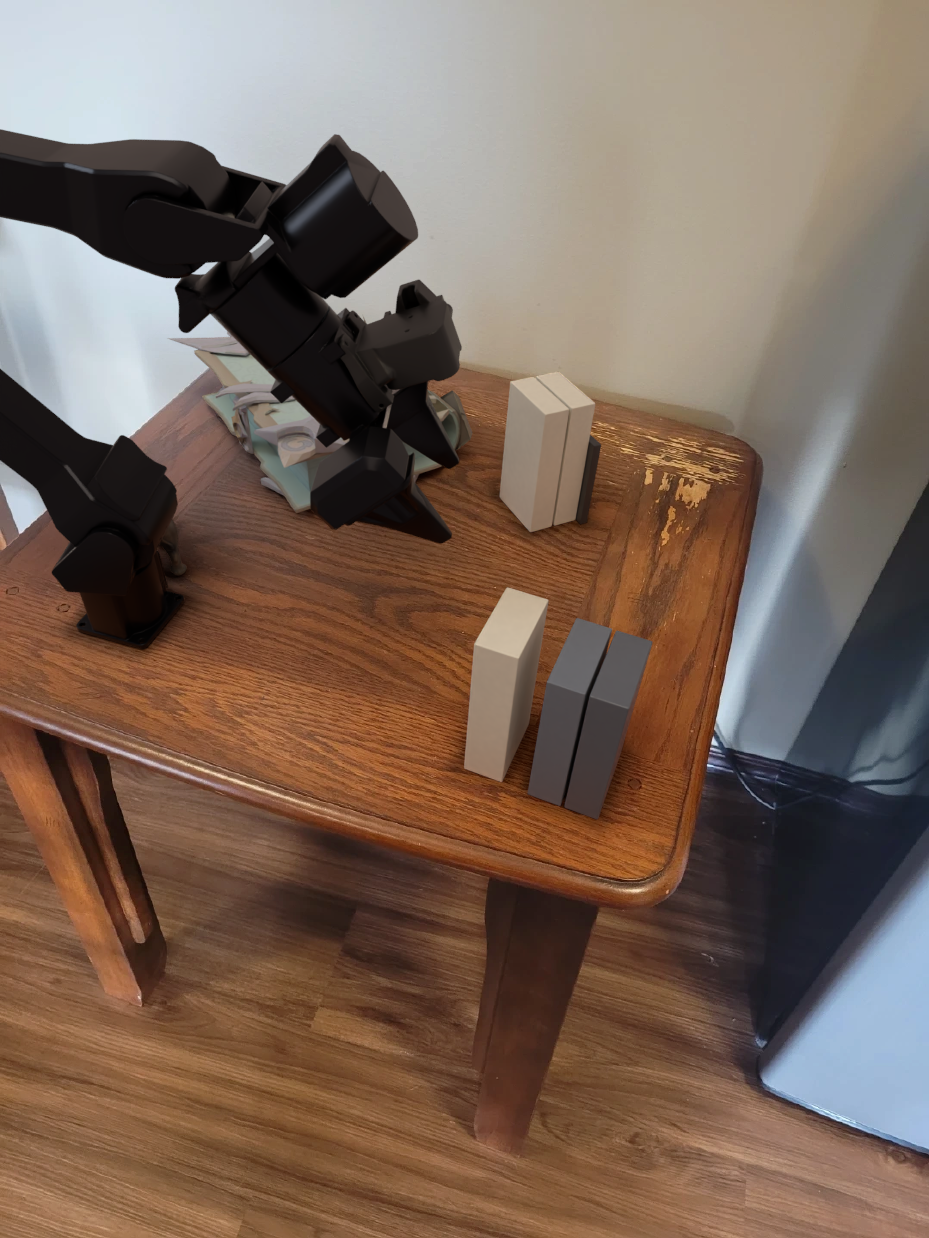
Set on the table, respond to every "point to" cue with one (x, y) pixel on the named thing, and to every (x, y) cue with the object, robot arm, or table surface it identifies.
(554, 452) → the white books
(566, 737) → the grey books
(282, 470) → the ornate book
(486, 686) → the white book
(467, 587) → the table surface
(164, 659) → the table surface
